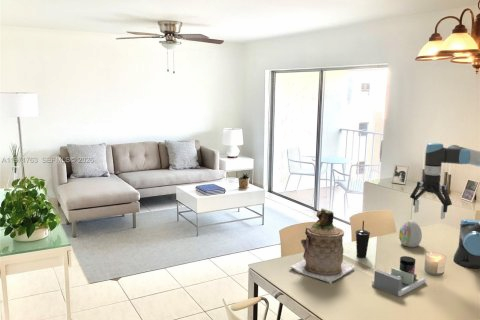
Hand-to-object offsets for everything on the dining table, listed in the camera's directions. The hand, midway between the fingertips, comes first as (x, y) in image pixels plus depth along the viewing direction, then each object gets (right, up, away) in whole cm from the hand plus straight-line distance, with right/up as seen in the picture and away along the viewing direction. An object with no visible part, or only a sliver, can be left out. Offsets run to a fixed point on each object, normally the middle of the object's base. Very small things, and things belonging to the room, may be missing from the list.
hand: (429, 215), depth 207 cm
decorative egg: (+4, -22, +34) cm, 40 cm away
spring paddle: (-22, -29, -18) cm, 40 cm away
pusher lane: (-22, -30, -18) cm, 41 cm away
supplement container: (-17, -29, -14) cm, 36 cm away
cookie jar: (-55, -27, -2) cm, 61 cm away
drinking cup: (-30, -25, +15) cm, 42 cm away
